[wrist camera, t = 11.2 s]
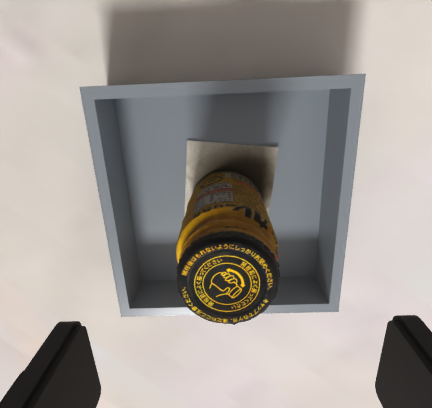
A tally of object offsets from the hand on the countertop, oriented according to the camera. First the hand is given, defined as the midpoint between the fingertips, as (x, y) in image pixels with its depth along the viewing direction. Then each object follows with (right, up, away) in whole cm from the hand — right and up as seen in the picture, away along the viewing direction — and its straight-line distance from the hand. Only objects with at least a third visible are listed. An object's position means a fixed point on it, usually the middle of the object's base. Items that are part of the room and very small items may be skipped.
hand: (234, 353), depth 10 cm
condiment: (0, +6, +17) cm, 18 cm away
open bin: (0, +6, +17) cm, 18 cm away
